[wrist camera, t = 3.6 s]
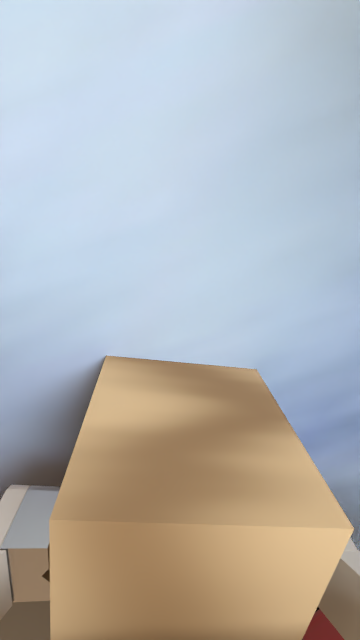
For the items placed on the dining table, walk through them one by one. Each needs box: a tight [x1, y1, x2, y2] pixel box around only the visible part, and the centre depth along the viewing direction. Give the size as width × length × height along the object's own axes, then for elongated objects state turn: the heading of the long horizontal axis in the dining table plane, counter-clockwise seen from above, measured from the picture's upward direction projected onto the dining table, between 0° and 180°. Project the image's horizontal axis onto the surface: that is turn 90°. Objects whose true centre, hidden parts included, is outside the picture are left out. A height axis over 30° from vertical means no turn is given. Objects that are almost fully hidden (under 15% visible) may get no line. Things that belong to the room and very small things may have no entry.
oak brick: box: [49, 356, 354, 640], centre depth 8 cm, size 4×7×5 cm, turn 172°
